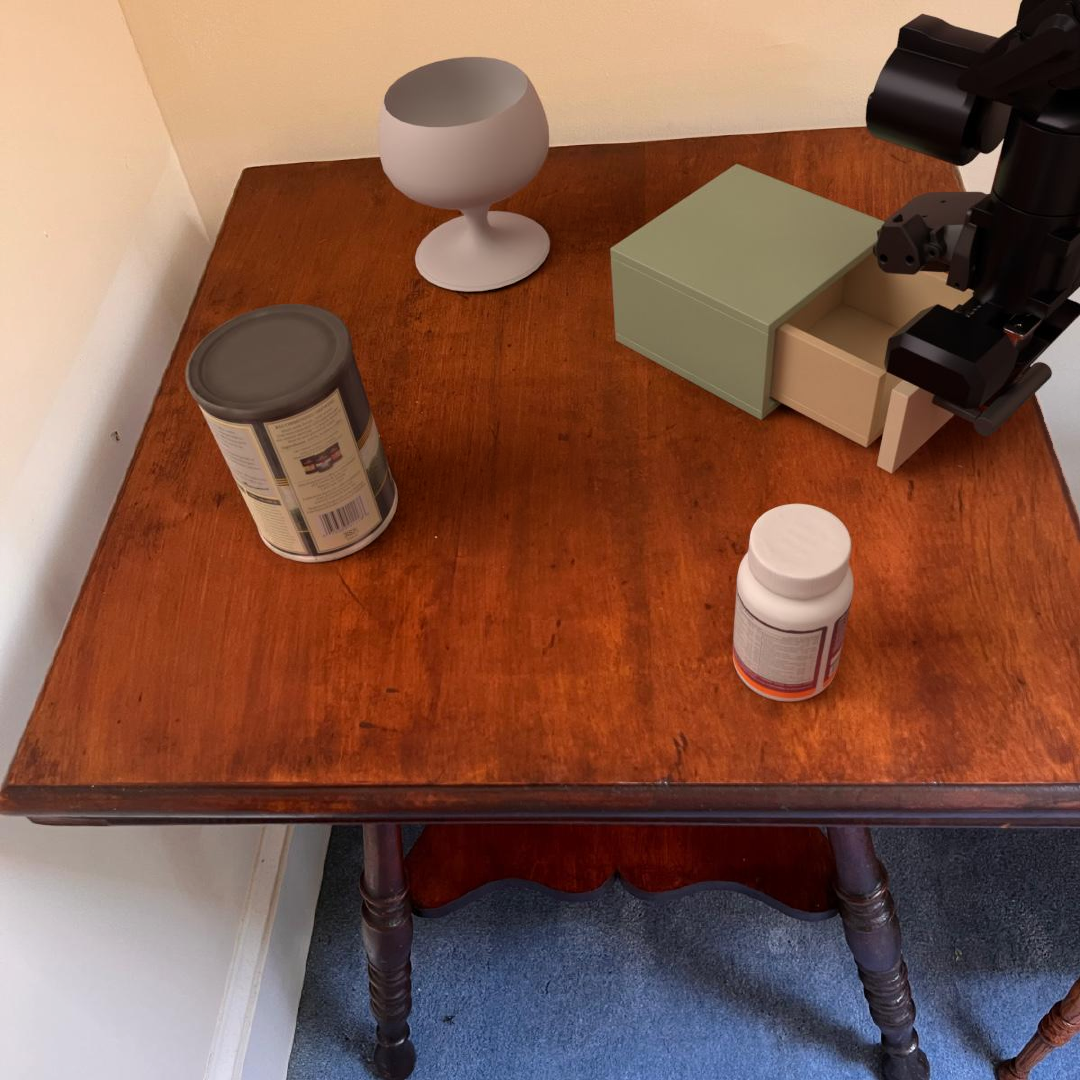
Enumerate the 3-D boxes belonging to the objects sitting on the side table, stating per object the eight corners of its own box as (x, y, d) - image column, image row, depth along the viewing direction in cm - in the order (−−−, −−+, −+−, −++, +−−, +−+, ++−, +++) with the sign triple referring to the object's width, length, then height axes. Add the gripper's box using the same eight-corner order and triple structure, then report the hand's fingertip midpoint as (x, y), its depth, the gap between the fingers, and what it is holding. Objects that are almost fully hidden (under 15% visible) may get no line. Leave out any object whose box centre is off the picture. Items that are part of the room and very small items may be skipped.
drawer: (1059, 398, 72) (1088, 320, 67) (952, 506, 67) (974, 429, 62) (842, 301, 82) (853, 225, 76) (733, 388, 76) (736, 313, 71)
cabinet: (879, 322, 81) (896, 225, 74) (761, 420, 75) (769, 325, 69) (732, 255, 89) (736, 163, 82) (615, 340, 83) (609, 248, 76)
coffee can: (319, 441, 79) (262, 286, 68) (426, 485, 74) (384, 328, 64) (226, 531, 73) (149, 379, 63) (335, 585, 69) (273, 431, 58)
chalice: (591, 234, 93) (578, 68, 82) (497, 320, 86) (470, 152, 75) (470, 196, 99) (443, 37, 88) (374, 273, 92) (331, 112, 81)
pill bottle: (797, 605, 64) (815, 478, 56) (859, 678, 60) (888, 554, 52) (711, 646, 63) (716, 522, 54) (769, 723, 59) (784, 603, 51)
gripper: (1003, 81, 65) (954, 289, 76) (822, 215, 57) (798, 422, 69) (1184, 133, 59) (1100, 349, 71) (1008, 290, 51) (947, 502, 63)
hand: (984, 401), depth 68 cm, fingers closed, pressing on drawer
